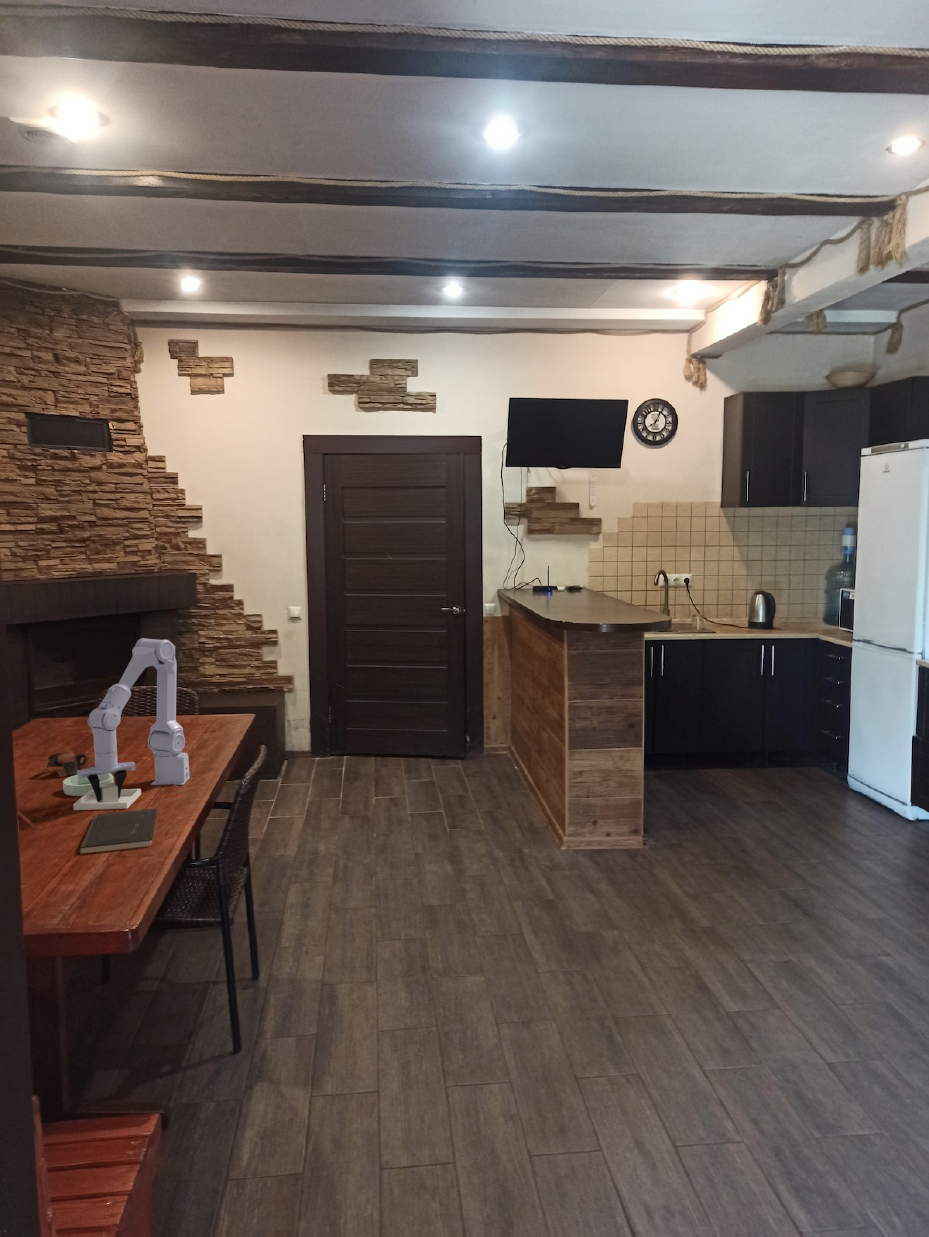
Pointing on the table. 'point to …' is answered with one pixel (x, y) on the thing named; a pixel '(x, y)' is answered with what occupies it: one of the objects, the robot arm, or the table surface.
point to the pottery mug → (68, 762)
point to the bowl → (83, 784)
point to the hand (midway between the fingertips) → (108, 799)
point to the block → (108, 793)
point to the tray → (123, 802)
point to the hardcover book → (120, 831)
